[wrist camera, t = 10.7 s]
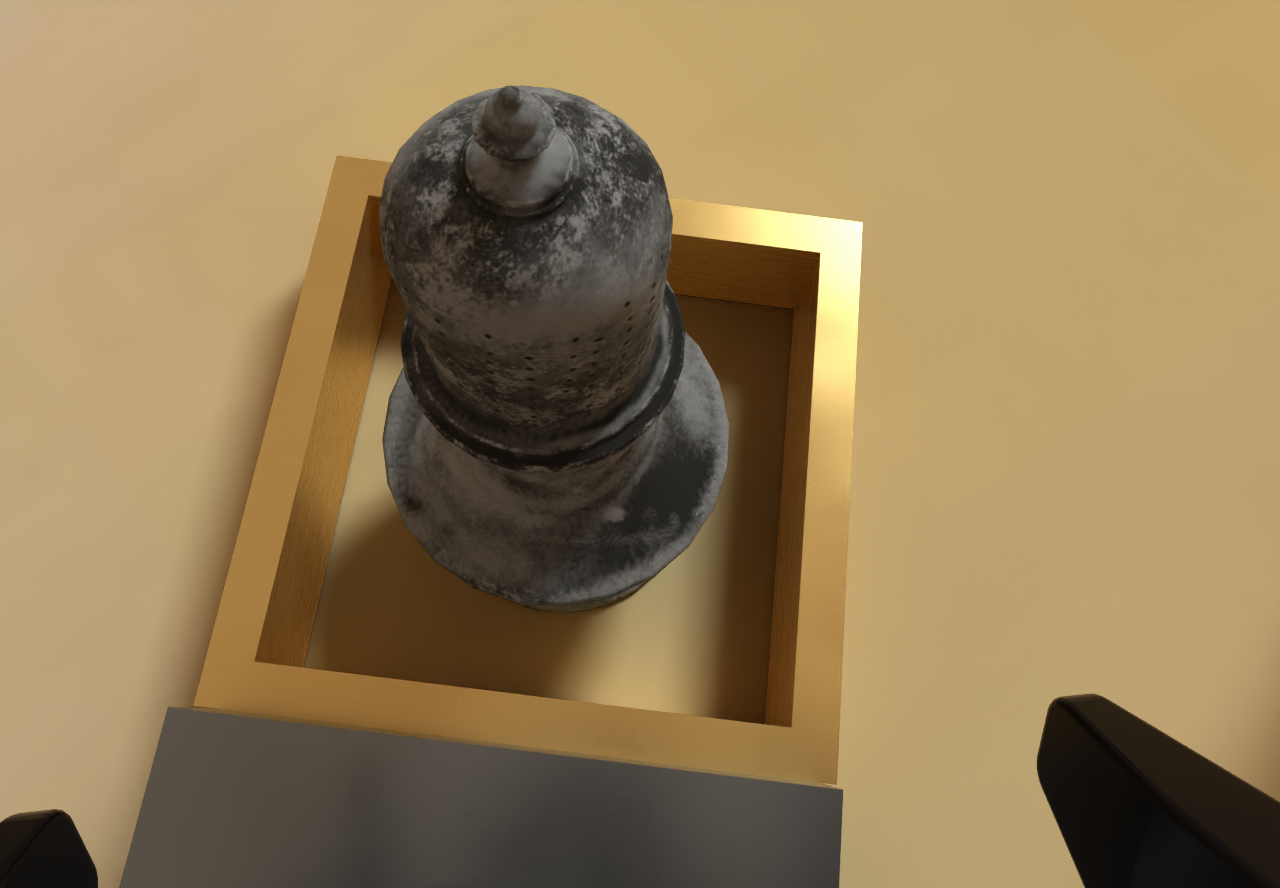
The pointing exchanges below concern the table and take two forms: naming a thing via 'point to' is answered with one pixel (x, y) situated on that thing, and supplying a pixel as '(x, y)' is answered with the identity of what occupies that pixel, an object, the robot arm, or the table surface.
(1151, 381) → the table surface
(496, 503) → the dark grey tall piece
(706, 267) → the two-tone flat frame block
